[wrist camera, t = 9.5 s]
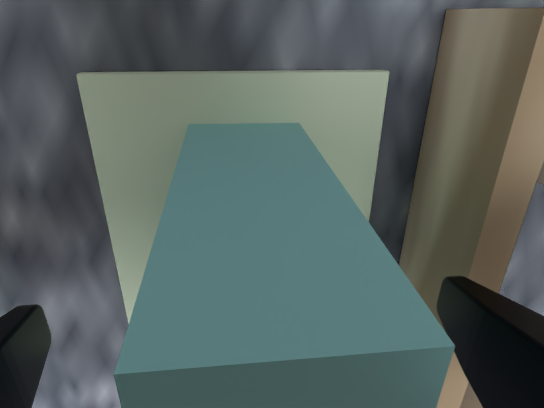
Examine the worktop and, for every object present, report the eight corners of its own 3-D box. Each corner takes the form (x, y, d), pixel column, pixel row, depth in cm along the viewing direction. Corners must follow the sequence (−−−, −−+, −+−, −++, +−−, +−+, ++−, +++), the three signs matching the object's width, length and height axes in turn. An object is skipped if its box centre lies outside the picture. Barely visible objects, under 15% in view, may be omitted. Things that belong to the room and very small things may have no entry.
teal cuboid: (298, 122, 11) (455, 346, 4) (290, 305, 14) (366, 632, 6) (188, 124, 10) (114, 374, 3) (203, 311, 13) (182, 663, 6)
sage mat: (384, 69, 11) (389, 71, 10) (351, 317, 15) (354, 325, 14) (81, 72, 10) (76, 74, 9) (135, 335, 14) (132, 344, 13)
